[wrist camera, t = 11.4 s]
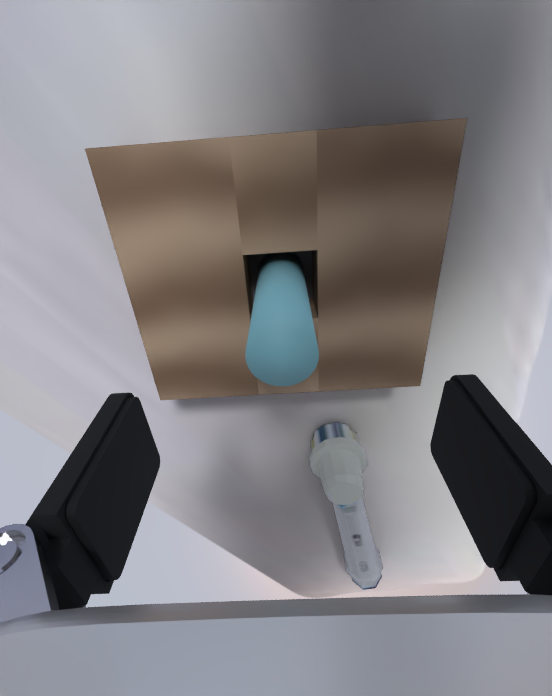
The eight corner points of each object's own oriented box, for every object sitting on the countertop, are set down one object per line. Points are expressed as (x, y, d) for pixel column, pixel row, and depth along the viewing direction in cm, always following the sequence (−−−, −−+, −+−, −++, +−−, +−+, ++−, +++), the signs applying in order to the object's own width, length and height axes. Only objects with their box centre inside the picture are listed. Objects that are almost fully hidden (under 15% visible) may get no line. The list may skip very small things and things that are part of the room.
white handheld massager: (348, 594, 43) (310, 492, 28) (339, 538, 48) (302, 426, 33) (391, 589, 42) (375, 481, 27) (376, 532, 47) (356, 415, 32)
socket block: (115, 148, 22) (84, 148, 18) (435, 122, 21) (467, 117, 18) (173, 371, 30) (160, 400, 27) (403, 358, 30) (420, 385, 26)
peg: (257, 250, 25) (241, 325, 14) (302, 247, 24) (318, 321, 14) (261, 292, 26) (249, 387, 16) (303, 290, 26) (319, 384, 16)
